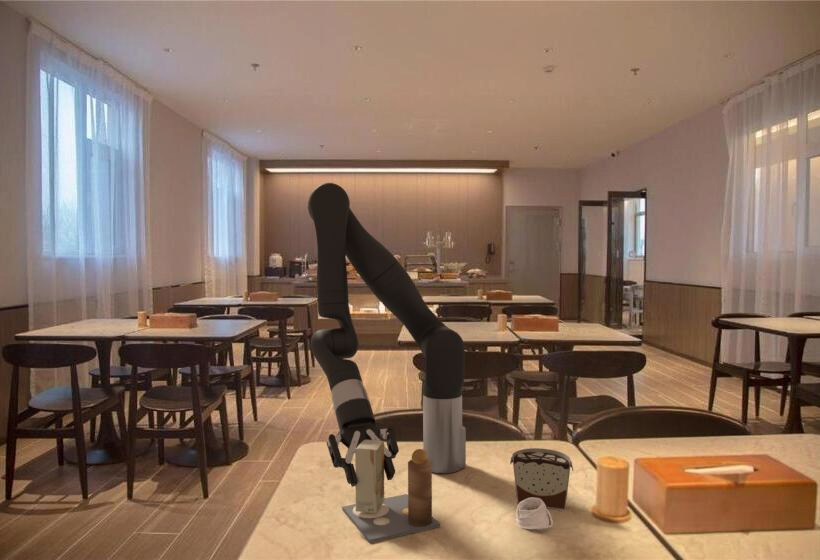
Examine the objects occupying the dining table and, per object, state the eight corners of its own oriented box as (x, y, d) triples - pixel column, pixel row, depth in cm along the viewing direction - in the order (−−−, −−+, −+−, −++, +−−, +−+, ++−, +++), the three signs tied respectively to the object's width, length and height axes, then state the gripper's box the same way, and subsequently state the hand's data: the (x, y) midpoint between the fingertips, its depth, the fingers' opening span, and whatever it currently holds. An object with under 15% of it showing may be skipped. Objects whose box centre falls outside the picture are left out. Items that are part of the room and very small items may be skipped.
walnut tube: (425, 514, 110) (425, 444, 110) (436, 523, 106) (435, 451, 106) (404, 518, 108) (404, 447, 108) (414, 528, 104) (414, 454, 104)
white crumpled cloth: (559, 537, 104) (562, 511, 104) (523, 537, 103) (526, 511, 102) (542, 515, 112) (545, 491, 111) (509, 514, 111) (512, 490, 110)
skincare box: (377, 514, 108) (376, 450, 108) (354, 512, 109) (354, 448, 109) (385, 500, 115) (384, 439, 114) (364, 498, 116) (363, 438, 115)
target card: (406, 496, 120) (406, 493, 120) (440, 526, 106) (440, 523, 106) (342, 509, 114) (342, 506, 114) (369, 543, 100) (369, 539, 100)
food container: (575, 499, 118) (575, 450, 118) (573, 511, 112) (573, 460, 112) (514, 491, 122) (514, 444, 122) (509, 503, 116) (509, 454, 116)
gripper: (322, 400, 115) (341, 478, 105) (388, 393, 121) (413, 466, 111) (315, 420, 120) (333, 496, 110) (379, 412, 126) (401, 483, 116)
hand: (373, 481), depth 110 cm, fingers closed on skincare box, 7 cm apart
